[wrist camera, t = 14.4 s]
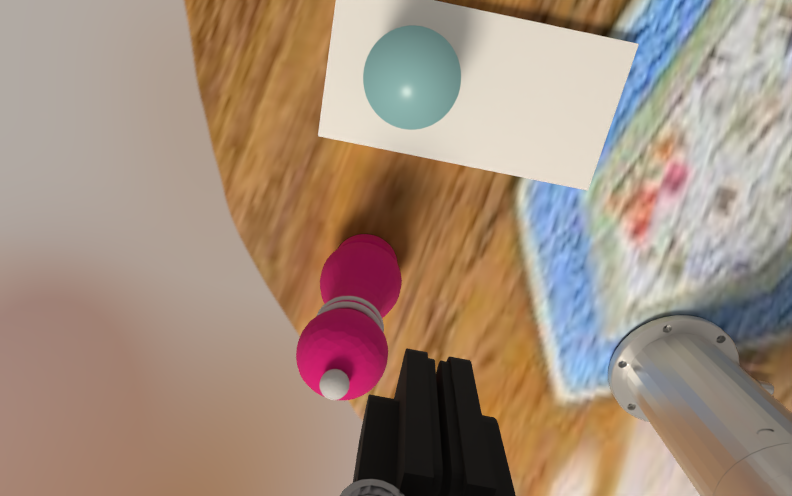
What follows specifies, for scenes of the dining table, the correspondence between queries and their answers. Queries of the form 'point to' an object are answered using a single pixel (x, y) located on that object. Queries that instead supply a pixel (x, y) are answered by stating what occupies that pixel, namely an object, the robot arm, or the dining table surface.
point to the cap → (412, 77)
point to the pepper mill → (350, 320)
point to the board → (486, 90)
